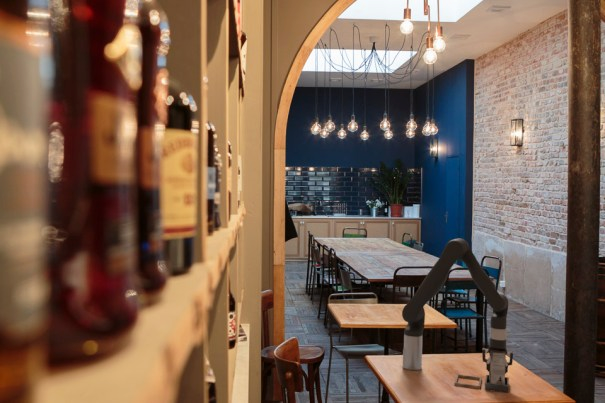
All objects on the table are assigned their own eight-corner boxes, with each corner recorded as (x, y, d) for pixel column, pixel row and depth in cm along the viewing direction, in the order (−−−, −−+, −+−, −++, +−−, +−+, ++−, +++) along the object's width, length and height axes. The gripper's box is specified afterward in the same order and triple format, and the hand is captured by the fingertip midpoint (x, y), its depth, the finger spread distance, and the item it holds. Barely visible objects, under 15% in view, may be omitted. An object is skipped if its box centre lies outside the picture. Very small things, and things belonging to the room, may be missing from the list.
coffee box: (488, 379, 267) (489, 345, 266) (502, 380, 266) (503, 346, 265) (490, 385, 258) (491, 351, 257) (505, 386, 257) (506, 352, 256)
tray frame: (454, 385, 262) (454, 382, 262) (457, 376, 275) (457, 374, 275) (480, 388, 258) (480, 386, 258) (481, 379, 271) (481, 377, 271)
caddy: (484, 389, 257) (485, 383, 257) (486, 380, 270) (486, 374, 270) (508, 393, 254) (508, 386, 254) (508, 383, 266) (508, 377, 266)
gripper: (481, 337, 260) (480, 372, 261) (514, 341, 255) (513, 376, 256) (482, 333, 267) (481, 367, 268) (514, 337, 262) (513, 372, 263)
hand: (496, 372), depth 262 cm, fingers closed on coffee box, 7 cm apart
